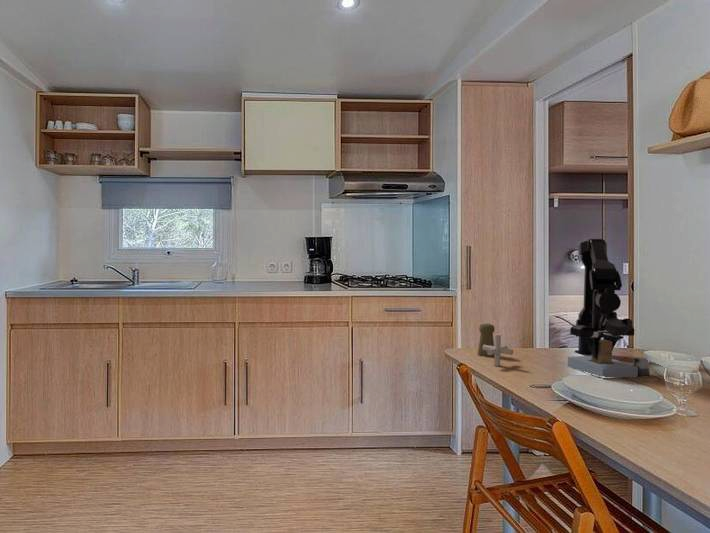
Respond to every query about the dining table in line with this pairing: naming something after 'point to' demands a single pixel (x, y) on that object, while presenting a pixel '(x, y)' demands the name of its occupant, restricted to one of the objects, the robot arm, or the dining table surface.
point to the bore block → (603, 367)
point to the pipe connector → (497, 349)
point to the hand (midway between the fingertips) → (601, 358)
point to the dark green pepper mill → (486, 338)
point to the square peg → (604, 352)
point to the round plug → (642, 366)
